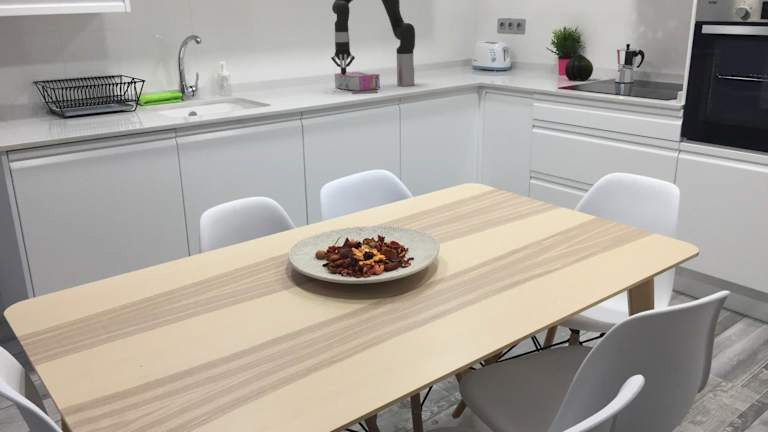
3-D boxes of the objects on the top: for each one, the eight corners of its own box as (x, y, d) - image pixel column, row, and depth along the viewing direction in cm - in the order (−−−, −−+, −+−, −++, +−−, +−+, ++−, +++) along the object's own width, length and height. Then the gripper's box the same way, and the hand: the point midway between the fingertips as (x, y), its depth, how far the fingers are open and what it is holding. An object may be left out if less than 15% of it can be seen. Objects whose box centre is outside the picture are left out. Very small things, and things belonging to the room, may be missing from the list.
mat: (373, 86, 376) (373, 86, 376) (377, 92, 352) (377, 92, 352) (349, 87, 375) (349, 86, 375) (352, 93, 351) (352, 93, 351)
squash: (579, 72, 367) (591, 50, 370) (556, 72, 378) (567, 50, 381) (590, 88, 376) (601, 66, 380) (567, 87, 387) (577, 65, 390)
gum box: (332, 73, 372) (352, 70, 380) (333, 87, 374) (353, 85, 382) (359, 76, 354) (379, 73, 362) (359, 91, 356) (380, 88, 364)
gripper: (354, 40, 359) (355, 73, 364) (329, 40, 358) (330, 74, 363) (355, 41, 352) (356, 75, 357) (329, 41, 351) (331, 76, 356)
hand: (343, 74), depth 360 cm, fingers closed
